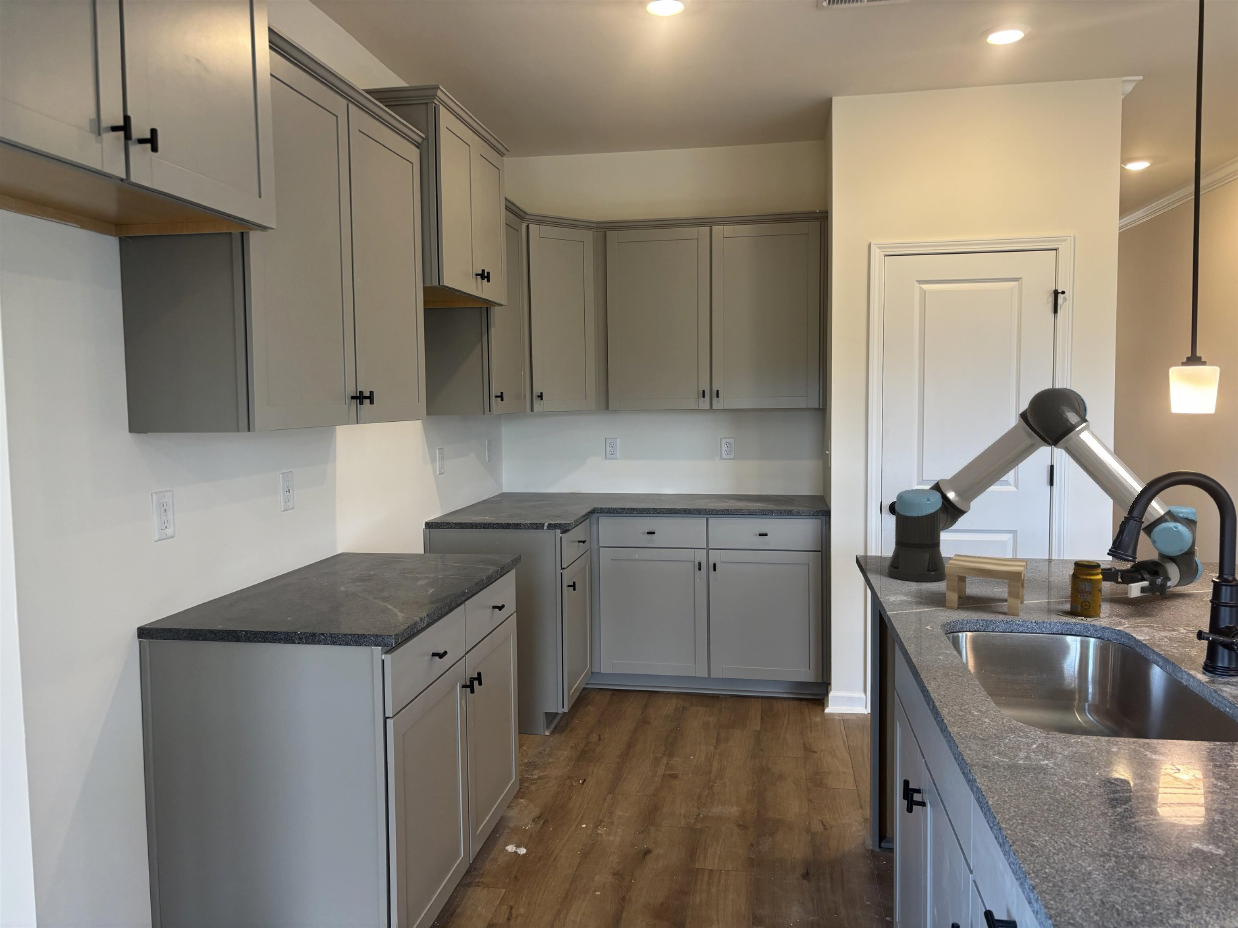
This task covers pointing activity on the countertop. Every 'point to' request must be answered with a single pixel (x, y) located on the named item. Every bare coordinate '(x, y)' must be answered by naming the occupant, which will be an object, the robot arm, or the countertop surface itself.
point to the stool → (985, 569)
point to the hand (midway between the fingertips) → (1098, 585)
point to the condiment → (1085, 591)
